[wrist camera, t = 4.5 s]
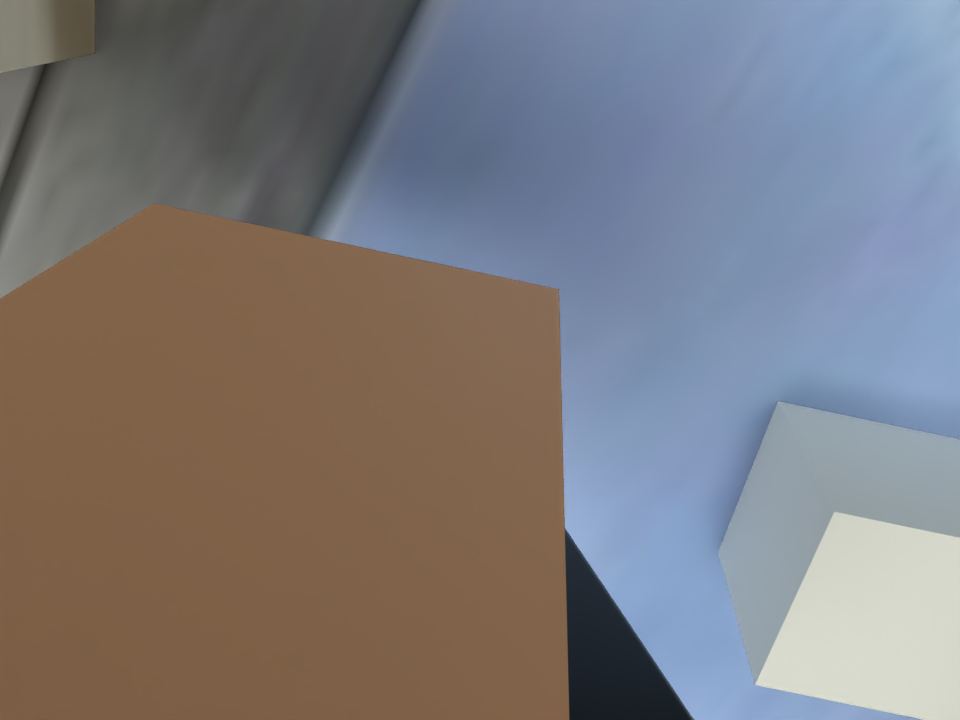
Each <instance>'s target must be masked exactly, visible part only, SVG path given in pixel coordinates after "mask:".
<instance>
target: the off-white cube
mask: <svg viewBox="0 0 960 720" xmlns="http://www.w3.org/2000/svg"><path fill="white" fill-rule="evenodd" d="M718 554H719V558H720V561H721V565H722V569H723V572H724V576H725V579H726V583H727V586H728V590H729V594H730V597H731V601H732V604H733V608H734V611H735V615H736V619H737V622H738V626H739V629H740V633H741V636H742V640H743V644H744V647H745V651H746V654H747V658H748V662H749V665H750V669H751V672H752V676H753V679H754V683H755V685H758V686H763V687H768V688H772V689H777V690H782V691H787V692H792V693H797V694H802V695H806V696H811V697H816V698H821V699H826V700H831V701H836V702H840V703H845V704H850V705H855V706H860V707H865V708H870V709H874V710H879V711H884V712H889V713H894V714H899V715H904V716H909V717H913V718H918V719H923V720H960V439H956V438H951V437H946V436H942V435H937V434H932V433H927V432H923V431H918V430H913V429H908V428H904V427H899V426H894V425H889V424H884V423H880V422H875V421H870V420H865V419H861V418H856V417H851V416H846V415H842V414H837V413H832V412H827V411H822V410H818V409H813V408H808V407H803V406H799V405H794V404H789V403H784V402H780V401H778V402H777V405H776V407H775V410H774V412H773V415H772V417H771V420H770V422H769V425H768V427H767V430H766V432H765V435H764V437H763V440H762V442H761V445H760V448H759V450H758V453H757V455H756V458H755V460H754V463H753V465H752V468H751V470H750V473H749V475H748V478H747V480H746V483H745V485H744V488H743V490H742V493H741V495H740V498H739V500H738V503H737V506H736V508H735V511H734V513H733V516H732V518H731V521H730V523H729V526H728V528H727V531H726V533H725V536H724V538H723V541H722V543H721V546H720V548H719V551H718Z"/></svg>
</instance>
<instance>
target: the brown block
mask: <svg viewBox="0 0 960 720" xmlns="http://www.w3.org/2000/svg"><path fill="white" fill-rule="evenodd" d="M0 720H569V685H568V644H567V602H566V561H565V519H564V478H563V437H562V395H561V354H560V312H559V289H555V288H550V287H546V286H541V285H536V284H532V283H527V282H522V281H517V280H513V279H508V278H503V277H499V276H494V275H489V274H485V273H480V272H475V271H470V270H466V269H461V268H456V267H452V266H447V265H442V264H437V263H433V262H428V261H423V260H419V259H414V258H409V257H404V256H400V255H395V254H390V253H386V252H381V251H376V250H371V249H367V248H362V247H357V246H353V245H348V244H343V243H338V242H334V241H329V240H324V239H320V238H315V237H310V236H306V235H301V234H296V233H291V232H287V231H282V230H277V229H273V228H268V227H263V226H258V225H254V224H249V223H244V222H240V221H235V220H230V219H225V218H221V217H216V216H211V215H207V214H202V213H197V212H192V211H188V210H183V209H178V208H174V207H169V206H164V205H159V204H155V203H154V204H152V205H151V206H149V207H148V208H146V209H144V210H143V211H141V212H139V213H138V214H136V215H135V216H133V217H131V218H130V219H128V220H127V221H125V222H123V223H122V224H120V225H118V226H117V227H115V228H114V229H112V230H110V231H109V232H107V233H106V234H104V235H102V236H101V237H99V238H97V239H96V240H94V241H93V242H91V243H89V244H88V245H86V246H85V247H83V248H81V249H80V250H78V251H76V252H75V253H73V254H72V255H70V256H68V257H67V258H65V259H64V260H62V261H60V262H59V263H57V264H55V265H54V266H52V267H51V268H49V269H47V270H46V271H44V272H43V273H41V274H39V275H38V276H36V277H34V278H33V279H31V280H30V281H28V282H26V283H25V284H23V285H22V286H20V287H18V288H17V289H15V290H13V291H12V292H10V293H9V294H7V295H5V296H4V297H2V298H1V299H0Z"/></svg>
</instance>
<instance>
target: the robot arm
mask: <svg viewBox="0 0 960 720" xmlns="http://www.w3.org/2000/svg"><path fill="white" fill-rule="evenodd" d="M565 561H566V602H567V644H568V685H569V720H694V719H693V718H692V716H691V715H690V713H689V712H688V710H687V709H686V707H685V706H684V704H683V703H682V701H681V700H680V698H679V697H678V695H677V694H676V692H675V691H674V689H673V688H672V687H671V685H670V684H669V682H668V681H667V679H666V678H665V676H664V675H663V673H662V672H661V670H660V669H659V667H658V666H657V664H656V663H655V661H654V660H653V658H652V657H651V655H650V654H649V652H648V651H647V649H646V648H645V646H644V645H643V643H642V642H641V640H640V639H639V637H638V636H637V634H636V633H635V632H634V630H633V629H632V627H631V626H630V624H629V623H628V621H627V620H626V618H625V617H624V615H623V614H622V612H621V611H620V609H619V608H618V606H617V605H616V603H615V602H614V600H613V599H612V597H611V596H610V594H609V593H608V591H607V590H606V588H605V587H604V585H603V584H602V582H601V581H600V579H599V578H598V577H597V575H596V574H595V572H594V571H593V569H592V568H591V566H590V565H589V563H588V562H587V560H586V559H585V557H584V556H583V554H582V553H581V551H580V550H579V548H578V547H577V545H576V544H575V542H574V541H573V539H572V538H571V536H570V535H569V533H568V532H567V530H566V529H565Z"/></svg>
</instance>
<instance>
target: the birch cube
mask: <svg viewBox="0 0 960 720" xmlns="http://www.w3.org/2000/svg"><path fill="white" fill-rule="evenodd" d="M94 53H95V0H0V73H4V72H8V71H13V70H18V69H23V68H28V67H32V66H37V65H42V64H47V63H51V62H56V61H61V60H66V59H70V58H75V57H80V56H85V55H89V54H94Z"/></svg>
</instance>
